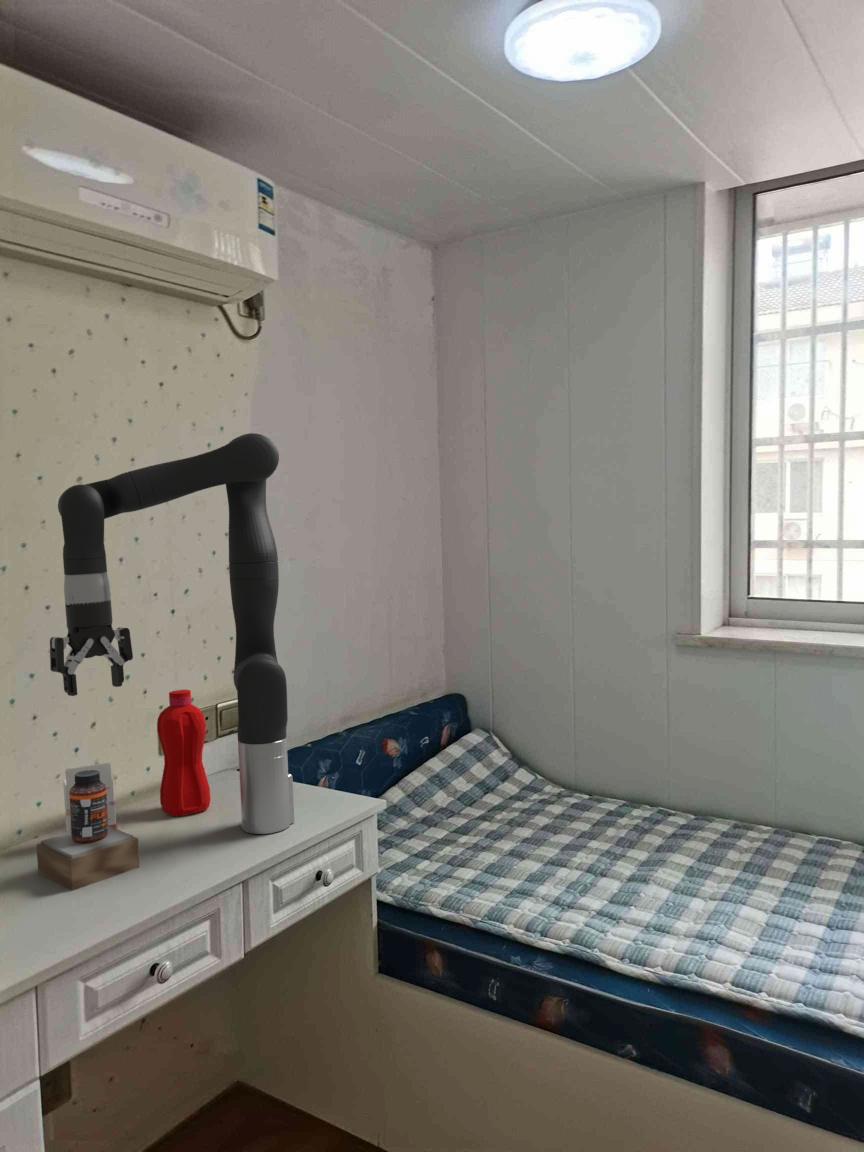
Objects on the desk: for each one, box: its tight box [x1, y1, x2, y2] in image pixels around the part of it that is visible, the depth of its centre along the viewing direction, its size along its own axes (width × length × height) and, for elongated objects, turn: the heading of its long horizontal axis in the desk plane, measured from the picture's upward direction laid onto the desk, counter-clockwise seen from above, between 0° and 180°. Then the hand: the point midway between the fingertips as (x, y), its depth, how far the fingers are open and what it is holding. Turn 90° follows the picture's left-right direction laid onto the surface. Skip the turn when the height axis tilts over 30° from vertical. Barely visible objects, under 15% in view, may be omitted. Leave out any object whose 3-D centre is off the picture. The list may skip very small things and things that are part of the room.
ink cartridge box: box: [62, 762, 118, 834], centre depth 166 cm, size 9×5×15 cm, turn 117°
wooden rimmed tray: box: [36, 826, 140, 891], centre depth 151 cm, size 12×12×6 cm
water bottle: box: [156, 689, 211, 817], centre depth 182 cm, size 9×11×25 cm
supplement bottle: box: [69, 770, 108, 842], centre depth 151 cm, size 6×6×11 cm
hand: (95, 690), depth 155 cm, fingers open, 8 cm apart
